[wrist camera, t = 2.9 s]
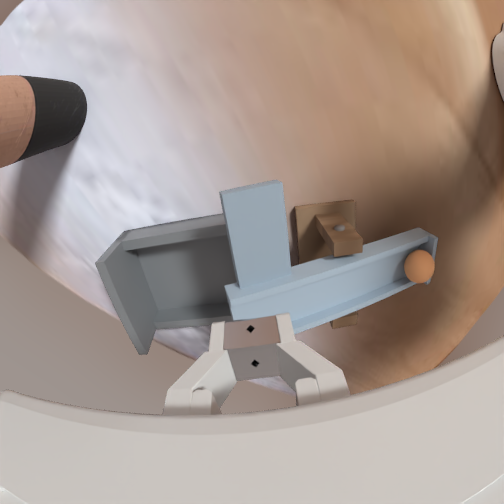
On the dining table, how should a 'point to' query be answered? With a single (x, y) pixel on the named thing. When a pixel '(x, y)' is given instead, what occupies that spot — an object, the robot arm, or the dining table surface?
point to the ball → (419, 266)
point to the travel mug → (37, 115)
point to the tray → (169, 276)
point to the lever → (305, 264)
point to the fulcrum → (328, 237)
